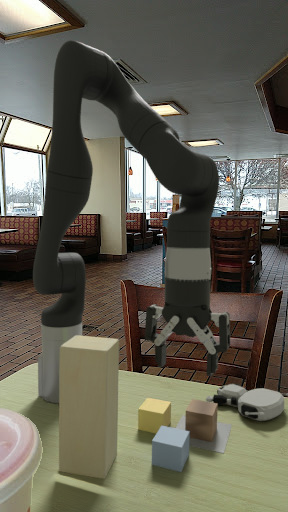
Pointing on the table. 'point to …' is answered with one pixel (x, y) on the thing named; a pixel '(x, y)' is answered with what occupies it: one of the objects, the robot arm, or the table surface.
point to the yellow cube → (154, 415)
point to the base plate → (218, 440)
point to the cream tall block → (88, 405)
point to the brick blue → (170, 448)
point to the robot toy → (250, 401)
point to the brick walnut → (201, 420)
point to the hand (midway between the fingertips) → (185, 369)
